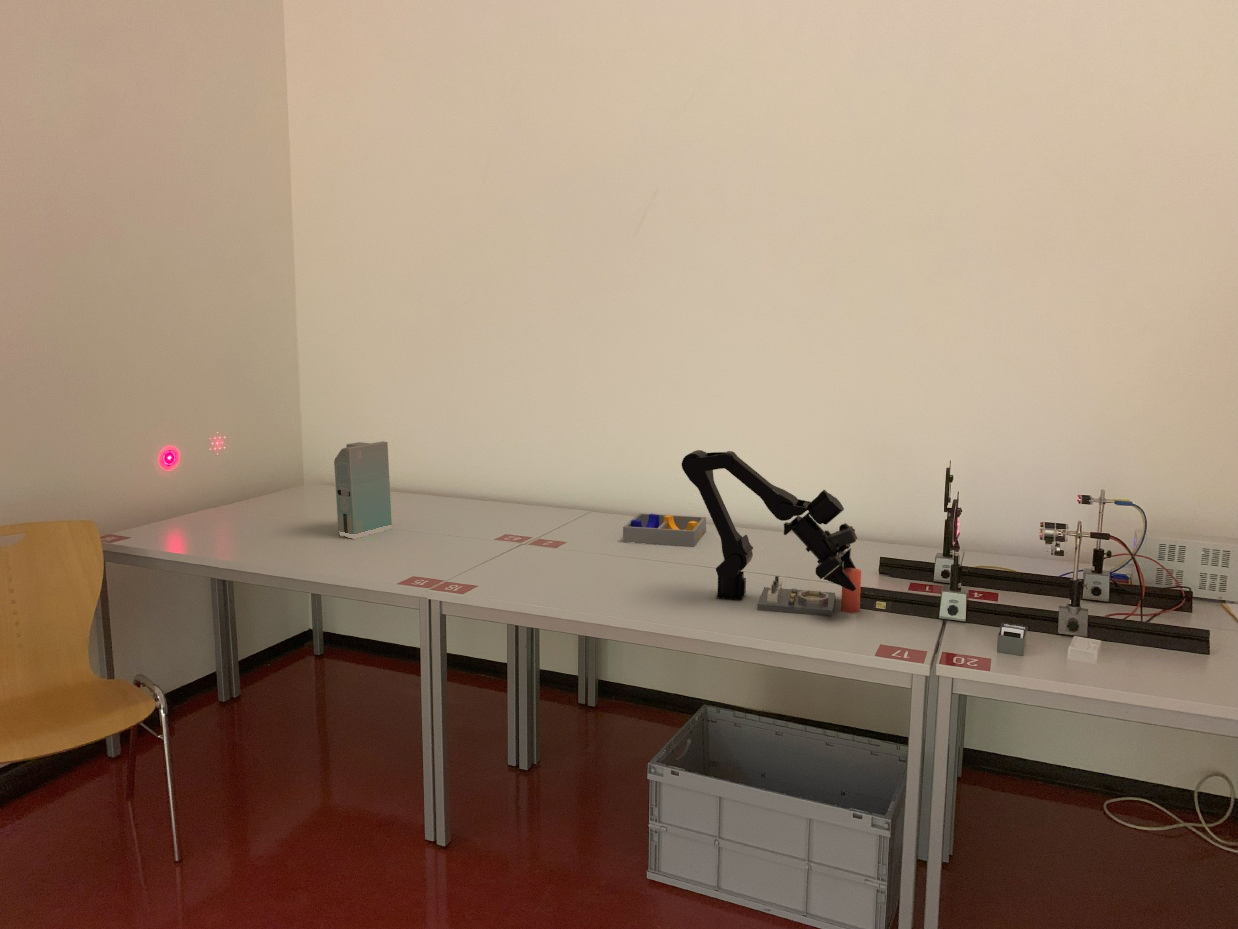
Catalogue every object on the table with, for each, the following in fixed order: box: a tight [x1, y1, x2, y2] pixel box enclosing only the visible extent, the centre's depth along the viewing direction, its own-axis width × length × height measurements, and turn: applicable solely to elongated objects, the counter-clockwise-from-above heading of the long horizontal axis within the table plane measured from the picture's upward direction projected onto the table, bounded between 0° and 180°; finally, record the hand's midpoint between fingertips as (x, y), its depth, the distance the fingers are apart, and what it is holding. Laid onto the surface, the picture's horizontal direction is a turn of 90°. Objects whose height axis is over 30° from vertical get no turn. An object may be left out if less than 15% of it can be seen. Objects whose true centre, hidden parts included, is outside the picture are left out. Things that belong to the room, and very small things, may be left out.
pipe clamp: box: [664, 514, 701, 535], centre depth 288 cm, size 12×4×6 cm, turn 47°
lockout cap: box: [840, 567, 862, 614], centre depth 218 cm, size 4×4×10 cm
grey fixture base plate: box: [756, 575, 836, 617], centre depth 223 cm, size 18×14×6 cm
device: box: [333, 441, 393, 534], centre depth 295 cm, size 16×8×30 cm, turn 148°
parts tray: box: [622, 512, 707, 548], centre depth 290 cm, size 23×20×5 cm
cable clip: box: [630, 513, 660, 528], centre depth 292 cm, size 12×4×6 cm, turn 145°
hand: (857, 584), depth 217 cm, fingers open, 9 cm apart
